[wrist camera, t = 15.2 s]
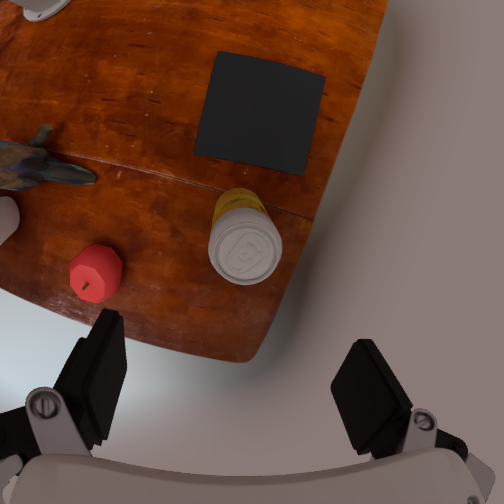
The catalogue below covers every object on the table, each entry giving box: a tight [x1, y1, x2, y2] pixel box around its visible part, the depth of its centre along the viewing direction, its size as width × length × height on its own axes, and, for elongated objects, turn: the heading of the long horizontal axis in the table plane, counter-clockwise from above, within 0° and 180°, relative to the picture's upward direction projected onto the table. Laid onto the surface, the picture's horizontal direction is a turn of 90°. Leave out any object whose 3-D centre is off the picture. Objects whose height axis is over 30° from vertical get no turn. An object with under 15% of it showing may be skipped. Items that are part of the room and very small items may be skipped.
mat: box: [194, 51, 326, 176], centre depth 31 cm, size 14×14×1 cm
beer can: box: [208, 188, 282, 285], centre depth 29 cm, size 6×6×15 cm
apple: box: [70, 244, 123, 304], centre depth 33 cm, size 8×8×8 cm
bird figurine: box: [0, 123, 96, 191], centre depth 24 cm, size 13×10×20 cm
